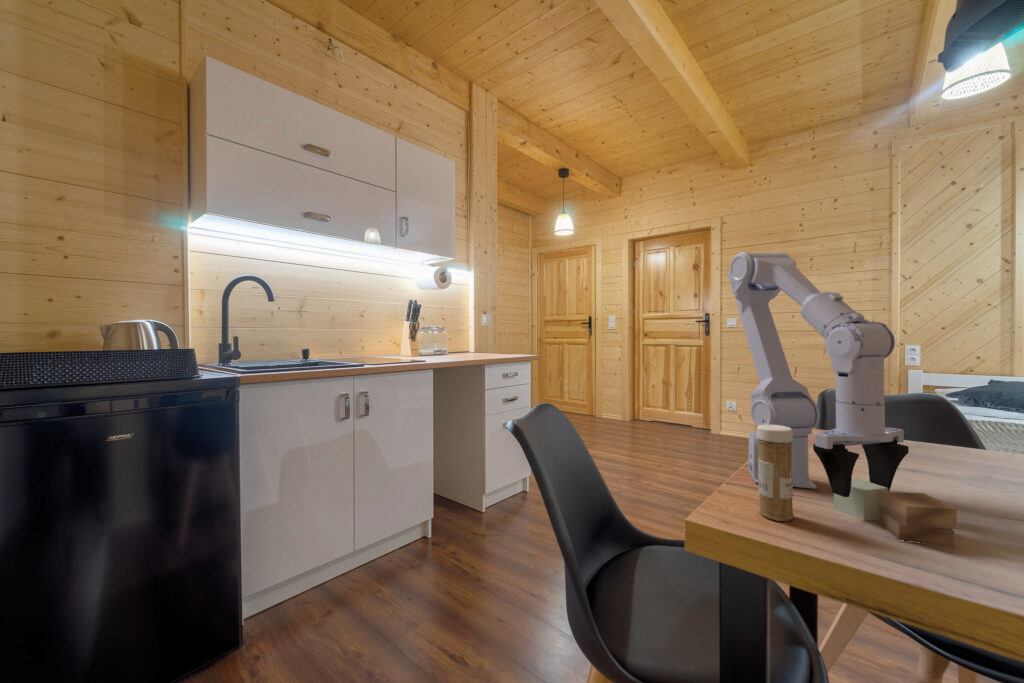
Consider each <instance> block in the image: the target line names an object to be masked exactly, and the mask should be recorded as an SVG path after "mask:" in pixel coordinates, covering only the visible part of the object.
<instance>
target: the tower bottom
mask: <svg viewBox="0 0 1024 683" xmlns="http://www.w3.org/2000/svg"><path fill="white" fill-rule="evenodd" d="M879 524H880V525H881V526H882V527H883V528H885V530H887V531H888V532H889V533H890V534H891V535H892V536H893V535H894V536H895V537H894V536H893V537H894V538H895V539H897V540H898V539H899V540H904V541H903V542H905V541H912V542H911V543H914V542H920V543H919V544H922V543H926V544H925V545H930V544H932V545H931V546H938V545H939V547H948V548H955V529H942V528H926V527H911V526H905V525H904V524H902V523H900V522H899V521H897V520H896V519H894V518H892V517H891V516H889V515H887V514H886V513H884V512H882V511H881V510H880V519H879ZM899 540H898V541H899ZM913 541H914V542H913Z"/></svg>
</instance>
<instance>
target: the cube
mask: <svg viewBox="0 0 1024 683" xmlns="http://www.w3.org/2000/svg"><path fill="white" fill-rule="evenodd" d="M878 491H888V488H887V487H883V486H880V485H877V484H874V483H871V482H870V481H866V480H864V479H860V478H857V477H852V480H851V491H850V495H849V497H843V496H840V495H837V494H835V493H833V510H835V511H838V512H840V513H843V514H845V515H847V516H850V517H852V518H856V519H858V520H860V521H862V522H867V521H868V522H869V521H875V520H880V510H879V509H878Z"/></svg>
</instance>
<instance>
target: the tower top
mask: <svg viewBox="0 0 1024 683" xmlns="http://www.w3.org/2000/svg"><path fill="white" fill-rule="evenodd" d="M878 509H879V510H881V511H882V512H884V513H886V514H887V515H889V516H891V517H892V518H894V519H896V520H897V521H899V522H900V523H902V524H904V525H905V526H911V527H926V528H942V529H952V530H958V525H957V523H958V517H957V516H958V512H957V511H958V508H955V507H953V506H951V505H949V504H947V503H945V502H943V501H940V500H939V499H936V498H934V497H932V496H931V495H928V494H926V493H925V492H910V491H909V492H905V491H890V490H889V491H878Z"/></svg>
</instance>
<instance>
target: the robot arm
mask: <svg viewBox="0 0 1024 683" xmlns="http://www.w3.org/2000/svg"><path fill="white" fill-rule="evenodd" d="M727 276H728V279H729V283H730V286H731V290H732V293H733V297H734V298H735V300H736V301H735V302H736V306H737V312H738V314H739V317H740V321H741V324H742V328H743V330H744V334H745V338H746V341H747V344H748V348H749V351H750V354H751V358H752V361H753V365H754V368H755V372H756V375H757V379H758V382H759V384H758V385H757V386H756V388H754V389H753V390H752V391H751V393H750V394H749V399H750V404H751V405H750V406H751V408H750V409H751V410H750V415H751V419H752V421H753V423H754V425H755V426H756V428H757V427H758V426H759V425H780V426H786V427H789V428H791V429H792V430H793V441H792V445H791V447H792V448H791V453H792V484H793V488H802V489H805V488H806V489H814V490H815V489H817V488H818V487H817V485H816V484H815V483H814V481H812V479H810V477H809V475H810V474H809V435H812V434H813V429H815V428H816V427H817V426H818V424H819V422H820V419H821V418H820V417H821V416H820V415H821V414H820V409H819V406H818V405H817V403H816V401H815V400H814V399H813V398H812V396H811V395H810V393H809V389H808V387H807V386H805V385H804V384H802V383H800V382H798V381H797V380H796V379H795V378H794V377H792V374H791V370H790V368H789V364H788V361H787V358H786V355H785V351H784V349H783V346H782V343H781V340H780V337H779V334H778V330H777V327H776V325H775V321H774V318H773V315H772V311H771V309H770V307H769V303H770V301H771V300H774V299H775V298H776V297H778V295H779V293H781V291H782V292H783V293H784V294H786V295H787V296H788V297H789V298H791V299H792V300H793V301H794V302H796V304H798V305H799V306H801V309H800V315H801V317H802V318H803V320H805V322H807V323H808V325H810V326H811V328H812V329H814V330H815V332H817V333H818V334H819V335H820V336H821V337H822V338H823V339H824V340H825V341H824V344H823V345H824V349H825V352H826V354H827V355H828V356H829V359H830V362H831V368H832V371H834V372H835V373H834V374H835V376H834V377H835V378H834V379H835V381H834V382H835V383H834V384H835V428H833V429H829V430H826V431H823V432H815V434H814V440H815V441H814V443H813V444H812V450H813V452H814V453H815V455H816V456H817V457H818V459H819V461H820V462H821V465H822V466H823V468H824V471H825V473H826V474H825V475H826V476H827V479H828V482H829V485H830V488H831V492H832V494H834V493H835V494H837V495H840V496H843V497H849V495H850V491H851V480H852V479H853V472H854V468H855V465H856V464H857V463H856V462H857V460H858V458H859V457H860V453H858V452H854V451H849V449H848V448H846V447H850V446H860V445H861V447H862V449H863V450H864V451H863V452H864V455H865V458H866V462H867V466H868V476H869V482H871V483H874V484H877V485H880V486H883V487H887V488H888V491H889V492H890V489H891V488H892V484H893V481H894V478H895V475H896V472H897V470H898V467H899V466H900V465H901V463H902V461H903V459H905V457H906V456H907V455H908V454H909V452H910V451H909V446H908V445H905V444H900V443H904V442H905V441H904V440H905V439H904V436H905V435H904V429H901V428H894V427H889V426H887V427H886V422H885V421H886V418H885V417H886V416H885V413H886V412H885V409H886V407H885V405H886V404H885V359H886V358H888V357H890V356H891V354H892V353H893V351H894V349H895V346H896V339H895V335H894V333H893V331H892V330H891V329H890V328H889V327H888V325H887V324H886V323H885V322H884V323H883V322H880V321H870V320H869V319H865V315H864V314H862V313H861V312H856V311H855V310H854V309H853V308H852V307H851V306H850V305H848V304H847V303H846V302H845V301H843V299H844V296H843V295H842V294H840V293H836V292H835V293H834V292H831V291H824V292H821V291H820V290H819V289H818V288H817V287H816V286H815V284H813V283H812V282H811V281H810V280H809V279H808V277H806V276H805V275H804V274H803V273H802V271H800V270H799V269H798V268H797V259H796V260H795V259H794V258H792V257H791V256H790V255H789V254H788V253H786V252H782V251H781V252H776V253H773V252H772V253H771V252H769V253H768V252H767V253H766V252H759V253H758V252H748V251H747V252H746V251H741V252H739V253H737V254H736V255H735V256H734V257H733V259H732V260H731V263H730V266H729V269H728V272H727ZM758 458H759V442H758V438H757V430H756V431H755V430H751V431H749V434H748V472H749V474H750V476H751V478H752V479H753V482H754V483H755V484H759V478H758Z"/></svg>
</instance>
